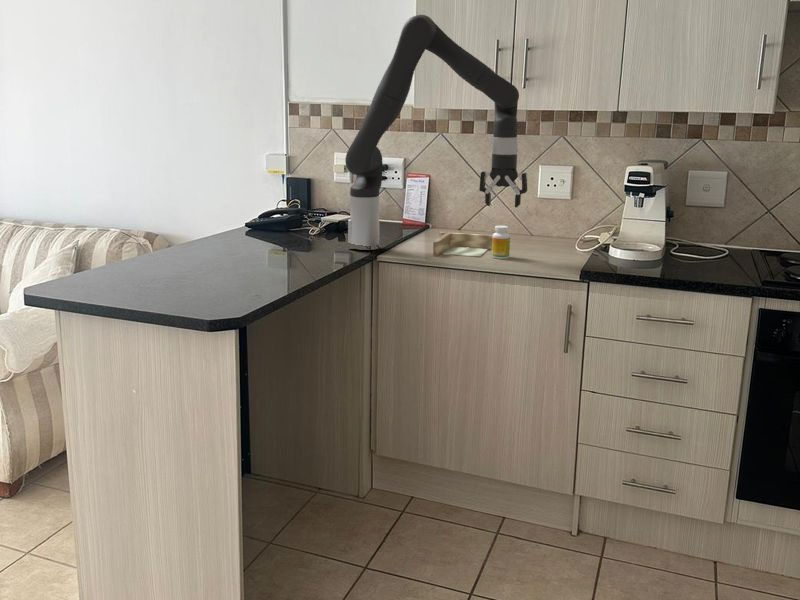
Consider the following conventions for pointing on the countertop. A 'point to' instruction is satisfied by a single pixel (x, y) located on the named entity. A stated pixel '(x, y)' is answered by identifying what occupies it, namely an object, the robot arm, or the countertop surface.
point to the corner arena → (462, 244)
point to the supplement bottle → (501, 243)
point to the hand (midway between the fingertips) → (502, 206)
